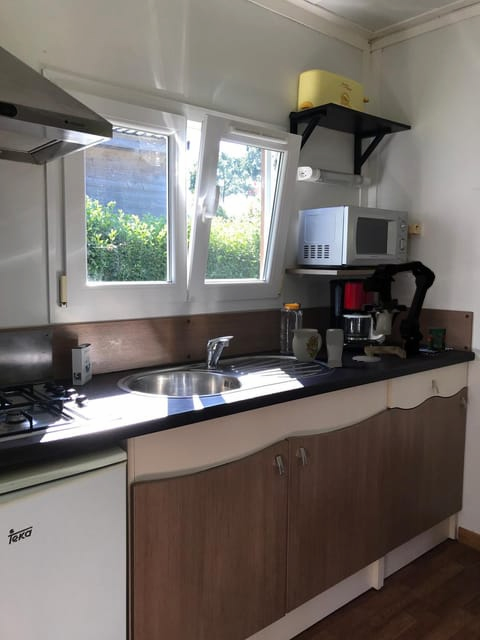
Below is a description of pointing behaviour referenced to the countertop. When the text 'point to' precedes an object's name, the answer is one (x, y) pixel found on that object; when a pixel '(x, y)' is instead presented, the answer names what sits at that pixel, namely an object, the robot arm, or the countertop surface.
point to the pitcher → (306, 344)
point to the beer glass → (334, 347)
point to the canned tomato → (437, 339)
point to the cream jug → (383, 323)
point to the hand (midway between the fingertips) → (383, 327)
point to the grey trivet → (367, 358)
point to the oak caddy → (385, 351)
